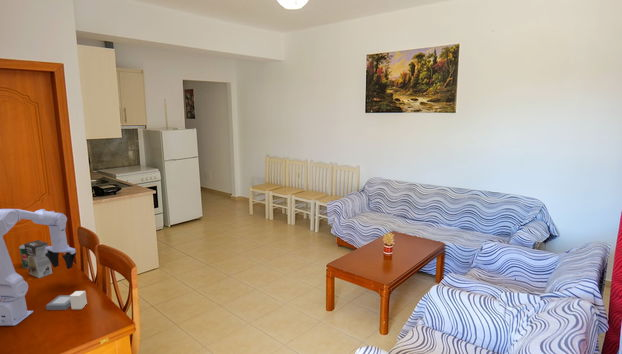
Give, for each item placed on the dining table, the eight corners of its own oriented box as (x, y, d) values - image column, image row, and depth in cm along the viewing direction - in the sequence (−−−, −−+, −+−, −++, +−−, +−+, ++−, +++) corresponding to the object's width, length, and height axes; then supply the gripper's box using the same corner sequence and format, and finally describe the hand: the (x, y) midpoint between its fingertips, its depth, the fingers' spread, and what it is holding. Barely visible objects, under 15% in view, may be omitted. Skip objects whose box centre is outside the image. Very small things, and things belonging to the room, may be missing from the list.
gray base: (66, 309, 151) (65, 305, 151) (46, 309, 151) (45, 305, 151) (78, 299, 159) (77, 295, 158) (59, 299, 159) (59, 295, 158)
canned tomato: (38, 260, 198) (35, 241, 196) (43, 264, 194) (40, 244, 191) (20, 265, 192) (17, 245, 190) (25, 269, 188) (21, 249, 185)
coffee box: (28, 274, 182) (23, 243, 179) (43, 269, 188) (38, 239, 185) (38, 278, 178) (33, 247, 175) (53, 273, 184) (48, 242, 181)
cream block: (81, 309, 151) (79, 295, 150) (71, 309, 151) (69, 295, 150) (87, 304, 155) (85, 290, 154) (77, 304, 155) (75, 290, 154)
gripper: (79, 236, 167) (83, 264, 170) (53, 234, 170) (57, 262, 173) (66, 242, 160) (70, 271, 163) (39, 240, 164) (43, 268, 166)
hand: (62, 267), depth 168 cm, fingers open, 7 cm apart
